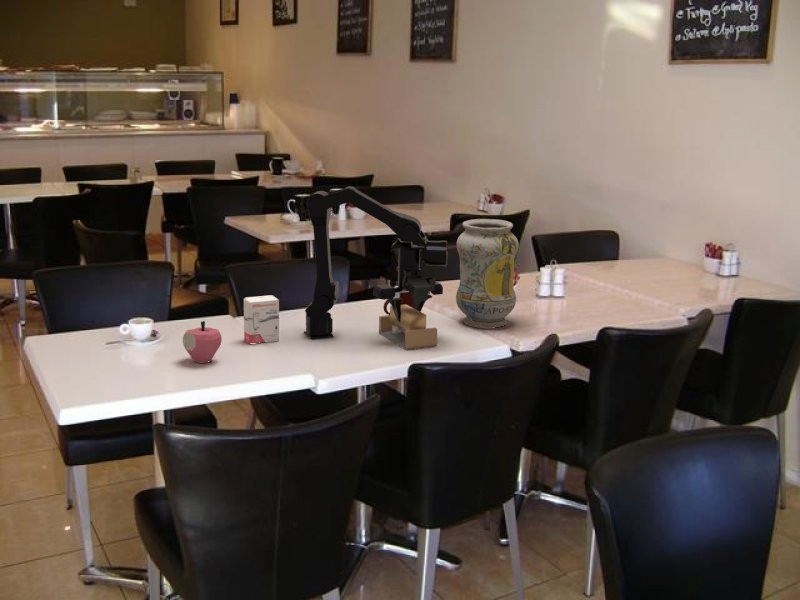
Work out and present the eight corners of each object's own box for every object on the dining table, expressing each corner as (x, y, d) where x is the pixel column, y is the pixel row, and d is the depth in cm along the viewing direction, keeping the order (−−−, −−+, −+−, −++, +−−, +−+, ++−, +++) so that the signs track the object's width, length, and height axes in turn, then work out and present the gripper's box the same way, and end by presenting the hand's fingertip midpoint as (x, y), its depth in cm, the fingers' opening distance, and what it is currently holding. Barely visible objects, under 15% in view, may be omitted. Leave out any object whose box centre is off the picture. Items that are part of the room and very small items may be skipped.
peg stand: (406, 350, 237) (407, 332, 236) (378, 333, 252) (379, 316, 251) (436, 346, 241) (437, 328, 240) (407, 330, 256) (407, 313, 255)
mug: (390, 328, 258) (391, 294, 255) (378, 321, 265) (379, 288, 262) (423, 324, 262) (424, 291, 260) (410, 318, 269) (411, 285, 267)
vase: (483, 335, 253) (488, 229, 246) (441, 321, 267) (444, 220, 259) (527, 325, 265) (533, 224, 257) (484, 312, 278) (488, 216, 271)
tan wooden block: (409, 331, 239) (409, 316, 238) (389, 320, 250) (390, 306, 249) (425, 329, 242) (426, 314, 241) (405, 318, 252) (406, 304, 251)
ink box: (249, 345, 239) (248, 301, 236) (243, 340, 243) (242, 297, 240) (280, 341, 243) (279, 298, 240) (273, 336, 247) (273, 294, 244)
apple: (177, 360, 225) (176, 321, 222) (207, 353, 230) (206, 316, 228) (198, 369, 218) (197, 330, 216) (228, 362, 224) (227, 323, 221)
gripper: (390, 273, 231) (389, 331, 235) (454, 268, 239) (451, 324, 243) (372, 264, 240) (371, 321, 244) (434, 260, 249) (432, 314, 252)
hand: (407, 320), depth 246 cm, fingers closed on tan wooden block, 5 cm apart
